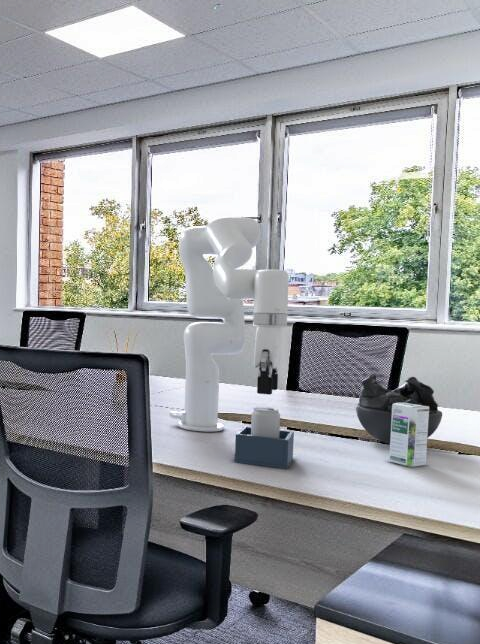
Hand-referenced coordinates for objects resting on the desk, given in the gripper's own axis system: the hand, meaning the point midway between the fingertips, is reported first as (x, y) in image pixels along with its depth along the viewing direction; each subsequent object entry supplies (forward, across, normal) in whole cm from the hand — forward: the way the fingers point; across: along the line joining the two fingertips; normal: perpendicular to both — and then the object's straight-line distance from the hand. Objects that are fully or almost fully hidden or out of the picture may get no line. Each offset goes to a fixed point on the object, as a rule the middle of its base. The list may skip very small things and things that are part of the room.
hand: (267, 391), depth 168 cm
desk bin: (+17, 0, 0) cm, 17 cm away
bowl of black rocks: (+17, -40, +28) cm, 52 cm away
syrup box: (+17, -17, +30) cm, 38 cm away
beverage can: (+16, 0, 0) cm, 16 cm away
